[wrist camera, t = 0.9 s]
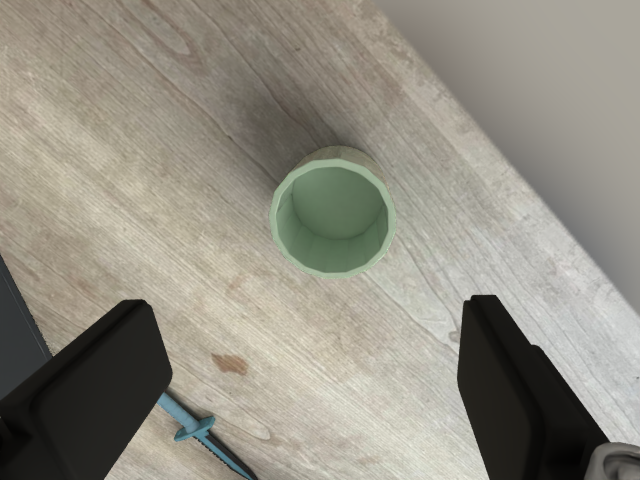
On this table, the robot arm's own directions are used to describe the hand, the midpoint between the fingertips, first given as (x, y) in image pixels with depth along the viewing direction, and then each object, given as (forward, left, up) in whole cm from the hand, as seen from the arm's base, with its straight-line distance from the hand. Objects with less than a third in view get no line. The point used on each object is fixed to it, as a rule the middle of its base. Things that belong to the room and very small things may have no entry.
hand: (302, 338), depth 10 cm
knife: (+25, -15, -15) cm, 32 cm away
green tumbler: (0, 0, -14) cm, 14 cm away
